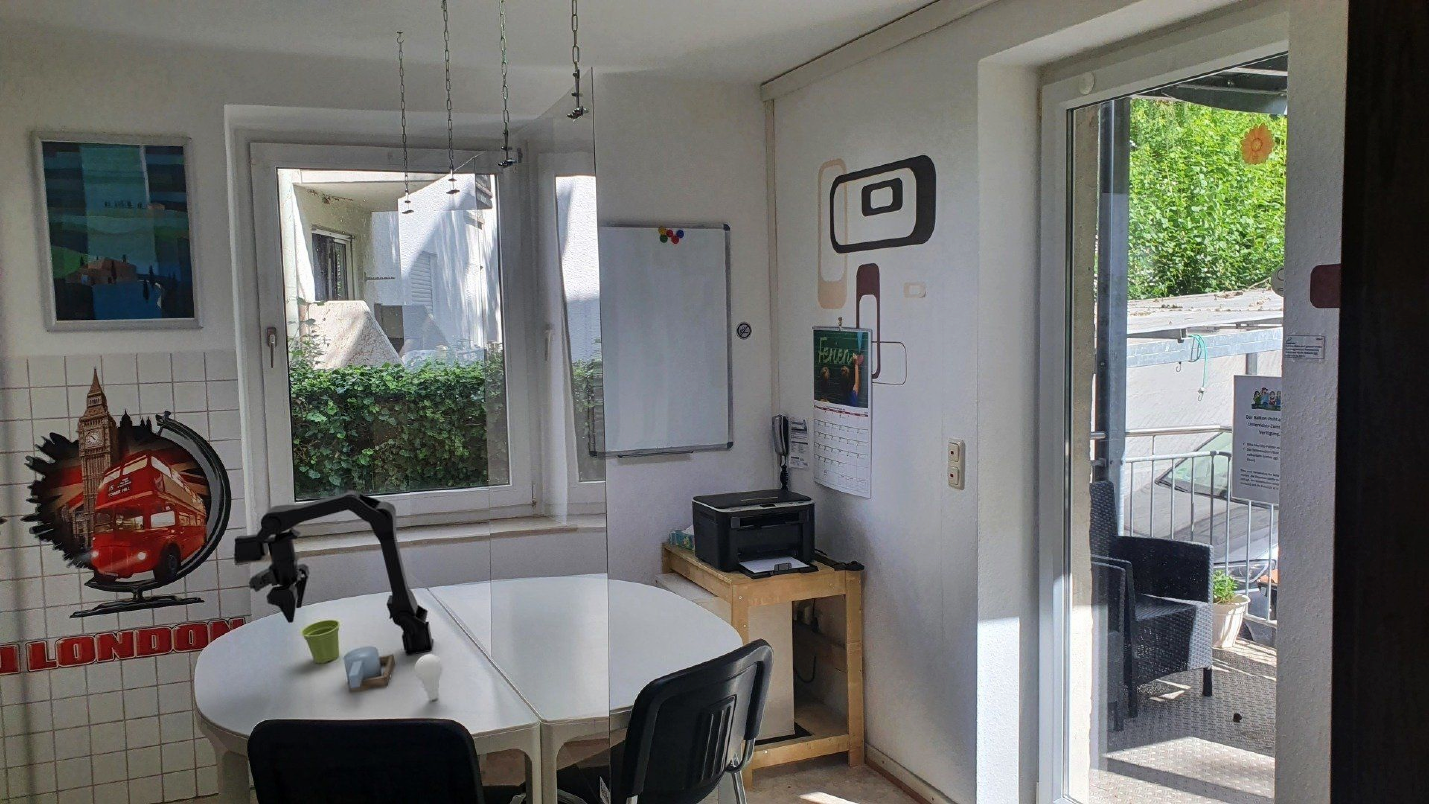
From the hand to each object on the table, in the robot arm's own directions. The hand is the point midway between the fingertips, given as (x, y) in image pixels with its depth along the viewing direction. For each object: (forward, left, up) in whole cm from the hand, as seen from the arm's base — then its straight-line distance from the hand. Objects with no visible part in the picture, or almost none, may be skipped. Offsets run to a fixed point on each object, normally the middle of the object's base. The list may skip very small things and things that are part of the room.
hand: (295, 615), depth 243 cm
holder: (-18, +12, -15) cm, 26 cm away
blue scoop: (-16, +16, -15) cm, 27 cm away
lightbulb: (-34, +30, -15) cm, 48 cm away
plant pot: (-4, -4, -15) cm, 16 cm away
